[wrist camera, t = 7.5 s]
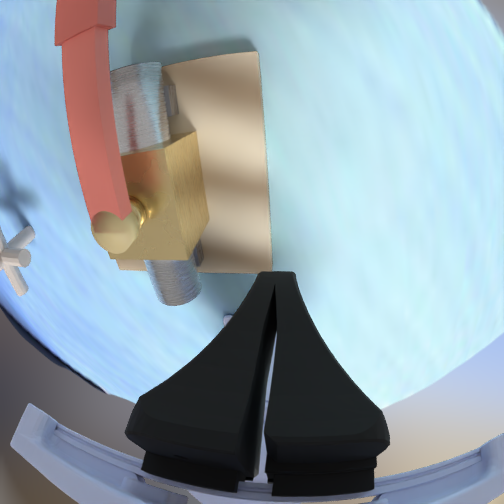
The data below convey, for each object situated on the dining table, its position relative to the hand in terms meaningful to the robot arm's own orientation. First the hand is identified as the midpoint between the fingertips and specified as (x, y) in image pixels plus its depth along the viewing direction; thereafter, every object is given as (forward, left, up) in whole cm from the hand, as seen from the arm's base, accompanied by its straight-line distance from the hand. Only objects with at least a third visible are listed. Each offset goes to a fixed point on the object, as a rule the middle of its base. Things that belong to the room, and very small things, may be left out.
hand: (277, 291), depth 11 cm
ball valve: (+2, +8, -10) cm, 13 cm away
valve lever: (+8, +8, -3) cm, 12 cm away
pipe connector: (-2, +29, -10) cm, 31 cm away
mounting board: (+2, +8, -10) cm, 13 cm away
